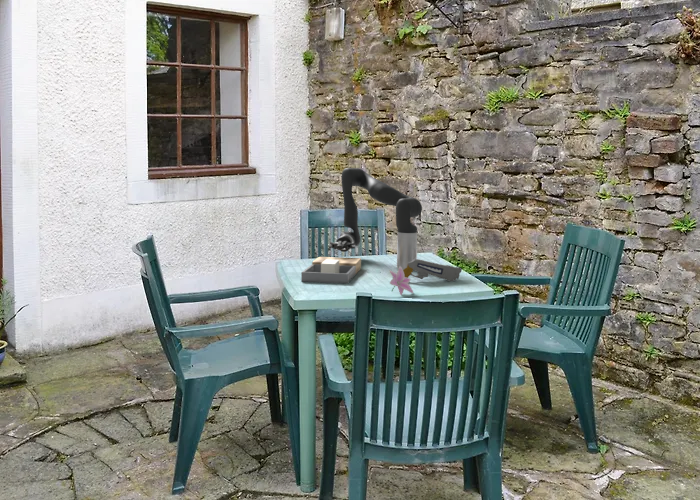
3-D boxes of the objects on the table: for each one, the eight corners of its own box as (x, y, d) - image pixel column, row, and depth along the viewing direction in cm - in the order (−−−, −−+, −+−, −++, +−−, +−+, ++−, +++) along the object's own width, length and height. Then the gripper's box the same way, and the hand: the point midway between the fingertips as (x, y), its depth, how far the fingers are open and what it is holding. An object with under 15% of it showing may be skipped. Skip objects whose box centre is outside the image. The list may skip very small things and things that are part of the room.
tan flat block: (360, 268, 353) (361, 258, 352) (355, 274, 337) (355, 263, 336) (319, 267, 356) (319, 256, 355) (312, 272, 340) (312, 261, 340)
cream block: (339, 259, 335) (334, 264, 323) (339, 273, 336) (334, 277, 324) (326, 259, 336) (320, 263, 324) (326, 272, 337) (320, 277, 325)
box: (355, 274, 337) (355, 265, 336) (347, 283, 316) (348, 274, 315) (311, 272, 340) (312, 264, 339) (301, 281, 319) (301, 272, 318)
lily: (384, 298, 292) (395, 278, 288) (376, 281, 302) (387, 262, 298) (410, 305, 297) (421, 286, 293) (402, 288, 307) (412, 270, 303)
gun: (449, 301, 325) (463, 269, 324) (398, 281, 319) (412, 248, 318) (447, 299, 328) (460, 268, 327) (396, 279, 323) (410, 247, 321)
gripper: (331, 234, 368) (325, 239, 351) (358, 235, 366) (353, 240, 349) (331, 250, 369) (325, 255, 352) (358, 250, 367) (353, 256, 350)
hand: (339, 247), depth 351 cm, fingers closed
